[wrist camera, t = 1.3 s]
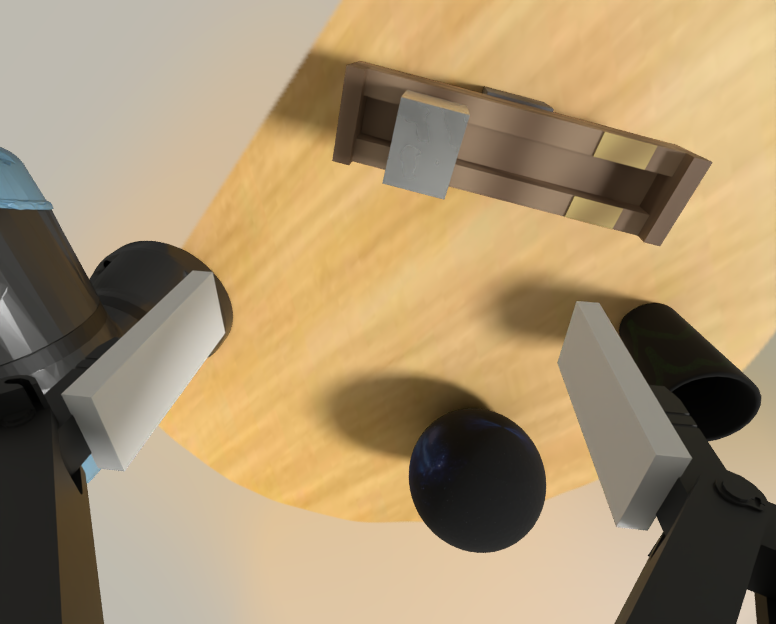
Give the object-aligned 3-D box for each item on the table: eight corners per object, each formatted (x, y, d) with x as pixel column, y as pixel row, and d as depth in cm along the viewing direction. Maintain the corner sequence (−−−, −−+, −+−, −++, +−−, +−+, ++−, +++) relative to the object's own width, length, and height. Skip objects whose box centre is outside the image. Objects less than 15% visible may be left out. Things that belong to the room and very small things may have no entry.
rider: (393, 158, 33) (382, 183, 27) (409, 85, 30) (401, 96, 24) (445, 171, 33) (444, 199, 27) (465, 100, 30) (469, 115, 24)
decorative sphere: (426, 370, 51) (418, 479, 39) (551, 395, 51) (585, 512, 39) (404, 453, 60) (392, 565, 47) (512, 475, 59) (529, 593, 47)
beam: (355, 138, 38) (331, 163, 31) (369, 55, 35) (347, 61, 27) (616, 206, 39) (658, 248, 31) (656, 132, 35) (714, 159, 28)
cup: (694, 288, 42) (771, 368, 32) (685, 351, 46) (752, 440, 36) (608, 299, 44) (656, 378, 34) (607, 359, 48) (649, 446, 37)
